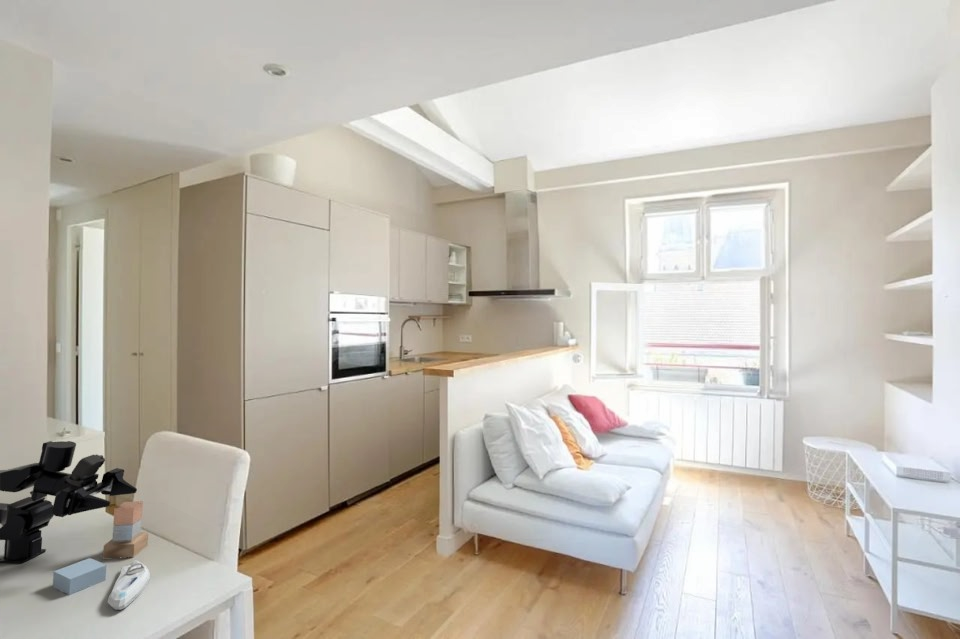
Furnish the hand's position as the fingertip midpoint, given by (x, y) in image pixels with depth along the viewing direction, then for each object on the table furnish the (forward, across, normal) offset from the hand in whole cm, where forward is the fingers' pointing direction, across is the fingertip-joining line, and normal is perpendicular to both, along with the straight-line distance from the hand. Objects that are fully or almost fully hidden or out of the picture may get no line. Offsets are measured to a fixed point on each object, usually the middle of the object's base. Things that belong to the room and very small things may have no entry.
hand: (123, 497), depth 117 cm
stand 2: (+2, +4, +16) cm, 16 cm away
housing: (+1, +4, +12) cm, 13 cm away
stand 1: (+2, -11, +16) cm, 19 cm away
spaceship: (+13, -12, +14) cm, 23 cm away
